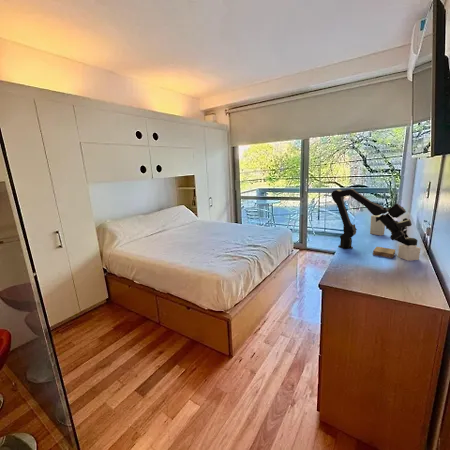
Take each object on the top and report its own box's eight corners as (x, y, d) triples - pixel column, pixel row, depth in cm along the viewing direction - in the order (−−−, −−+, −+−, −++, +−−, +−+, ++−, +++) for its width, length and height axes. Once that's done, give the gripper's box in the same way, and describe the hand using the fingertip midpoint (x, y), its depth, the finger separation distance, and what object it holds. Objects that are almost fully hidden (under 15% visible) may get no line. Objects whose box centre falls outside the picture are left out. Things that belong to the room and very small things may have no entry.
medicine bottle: (419, 259, 139) (422, 239, 136) (408, 261, 138) (411, 240, 135) (408, 255, 146) (410, 236, 143) (397, 256, 145) (400, 237, 142)
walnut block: (372, 255, 149) (373, 250, 148) (376, 250, 156) (376, 246, 156) (392, 259, 143) (392, 254, 142) (394, 254, 150) (395, 249, 149)
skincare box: (384, 234, 189) (386, 215, 186) (380, 236, 186) (382, 216, 183) (372, 232, 196) (374, 214, 193) (369, 233, 193) (371, 215, 190)
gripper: (400, 217, 133) (423, 240, 128) (404, 211, 146) (425, 232, 141) (381, 229, 140) (402, 251, 135) (387, 223, 153) (406, 243, 148)
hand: (409, 244), depth 140 cm, fingers closed on medicine bottle, 6 cm apart
